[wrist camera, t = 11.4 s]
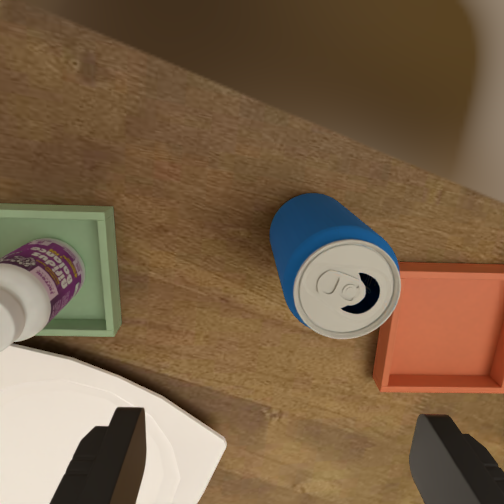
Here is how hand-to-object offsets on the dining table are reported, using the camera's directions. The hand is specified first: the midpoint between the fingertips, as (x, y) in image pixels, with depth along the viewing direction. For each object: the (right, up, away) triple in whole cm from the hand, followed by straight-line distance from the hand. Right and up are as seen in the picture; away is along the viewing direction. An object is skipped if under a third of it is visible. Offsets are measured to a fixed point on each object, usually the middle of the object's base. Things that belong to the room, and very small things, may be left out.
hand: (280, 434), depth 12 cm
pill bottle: (-17, +4, +21) cm, 27 cm away
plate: (-18, -15, +27) cm, 36 cm away
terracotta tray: (+16, -1, +23) cm, 28 cm away
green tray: (-17, +4, +21) cm, 27 cm away
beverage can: (+4, +7, +21) cm, 22 cm away
